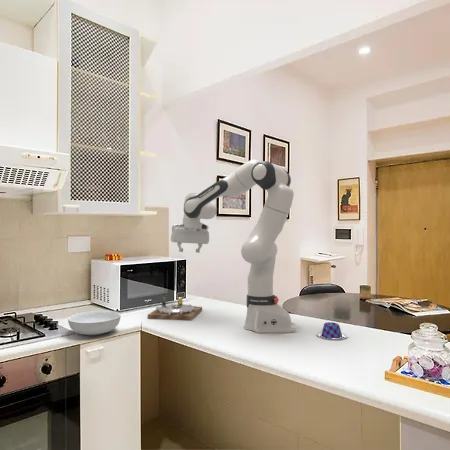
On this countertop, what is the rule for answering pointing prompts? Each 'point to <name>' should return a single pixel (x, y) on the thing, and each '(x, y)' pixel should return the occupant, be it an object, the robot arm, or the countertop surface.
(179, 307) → the sprocket
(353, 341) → the countertop surface
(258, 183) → the robot arm
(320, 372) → the countertop surface
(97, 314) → the serving bowl
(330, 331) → the purple domed brimmed piece
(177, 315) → the index board
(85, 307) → the countertop surface
